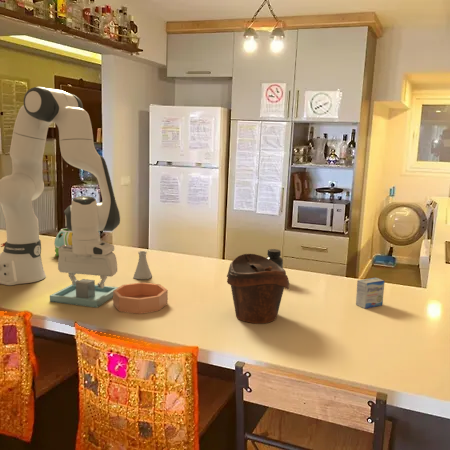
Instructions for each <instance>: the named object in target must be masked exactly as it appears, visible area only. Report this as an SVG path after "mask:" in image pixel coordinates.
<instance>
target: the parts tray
mask: <svg viewBox="0 0 450 450" xmlns="http://www.w3.org/2000/svg"><path fill="white" fill-rule="evenodd" d="M118 287H119V286H109V285H104V288H98V284H95V295H93V296H91V297H90V298H88V299H87V298H79V297H76V286H72V283H71V284H70V285H67V286H66V287H64V288H61V289H60V290H58V291H56V292H54V293H52V294H50V295H49V302H50V303H57V304H59V303H60V304H66V305H74V306H82V307H89V308H99V307H100V306H102V305H104V304H105V303H106V302H108V301H110V300H111V299H113V291H114V290H115V289H117V288H118Z"/></svg>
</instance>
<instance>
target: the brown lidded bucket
mask: <svg viewBox="0 0 450 450" xmlns="http://www.w3.org/2000/svg"><path fill="white" fill-rule="evenodd" d="M226 278H227V280H226V282H227V284H228V285H229V286H230V289H231V294H232V300H233V306H234V311H235V318H236V319H238V320H240V321H242V322H246V323H251V324H256V325H257V324H258V325H261V324H268V323H272V322H273V321H275V320H276V319H277V317H278V313H279V310H280V307H281V301H282V297H283V293H284V290H285V289H287V290H288V291H289V292H290V280H289V277H288V275H287V273H286V270H285V269H284V267H283V268H282V267H280V266H279V265H278V264H277V263H275V262H273V261H271V260H269V259H267V258H266V257H264V256H262V255H259V254H255V253H243V254H240V255H238V256H237V257H235V258H234V259H232V261H231V262H230V264H229V267H228V271H227V274H226Z"/></svg>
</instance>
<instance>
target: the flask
mask: <svg viewBox="0 0 450 450" xmlns="http://www.w3.org/2000/svg"><path fill="white" fill-rule="evenodd" d="M146 255H147V251H146V250H140V251H138V262H137V265H136V268H135V271H134V274H133V277H132V278H133V279H135V280H149V279H151V278H152V277H153V274H152V272H151V269H150V265H149V264H148V260H147V256H146Z"/></svg>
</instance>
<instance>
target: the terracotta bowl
mask: <svg viewBox="0 0 450 450" xmlns="http://www.w3.org/2000/svg"><path fill="white" fill-rule="evenodd" d="M117 287H118V288H117V289H115V290H114V291H113V298H112V304H113V306H114V307H115V309H117V310H118V311H119V312H121V313H123V312H124V313H129V314H130V313H131V314H135V315H139V314H140V315H141V314H146V313H153V312H159V311H161V310H162V309H163V308H164V307H165V306H166V305H168V304H169V303H168V293H169V292H168V289H167V288H165V287H164V286H163V285H161V284H159V283H154V282H153V283H150V282H135V283H128V284H127V283H125V284H122V285H120V286H117Z"/></svg>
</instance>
